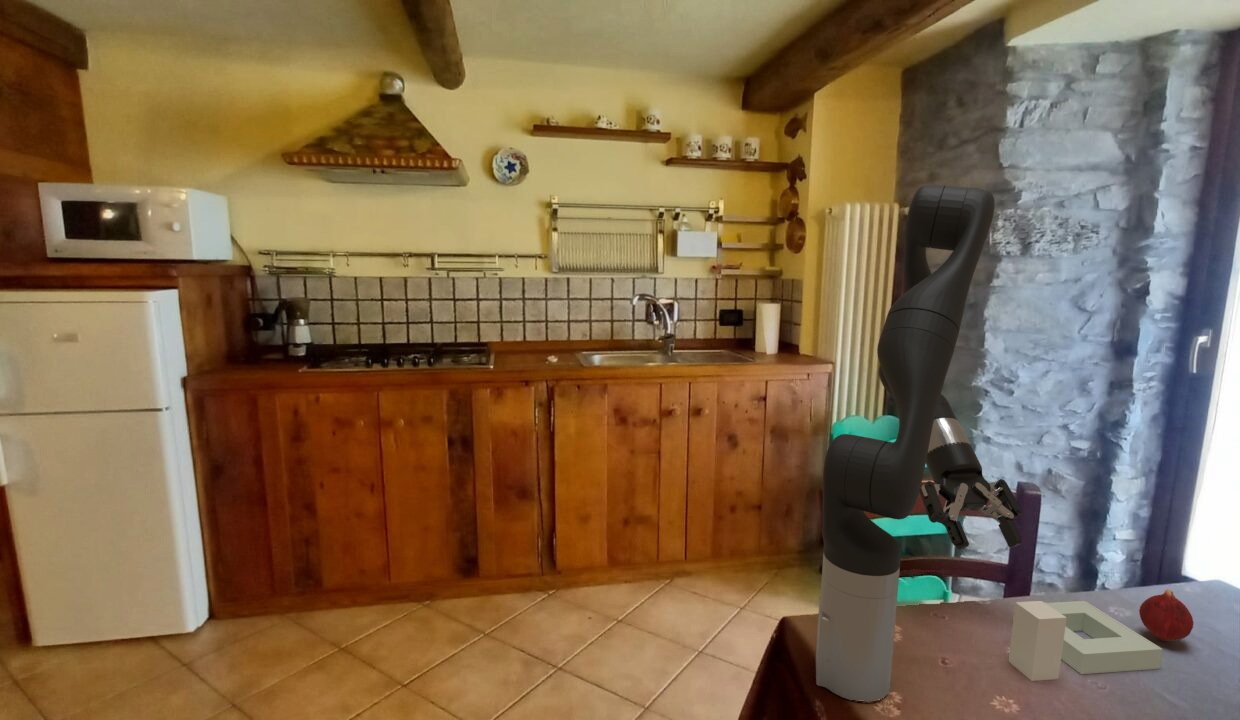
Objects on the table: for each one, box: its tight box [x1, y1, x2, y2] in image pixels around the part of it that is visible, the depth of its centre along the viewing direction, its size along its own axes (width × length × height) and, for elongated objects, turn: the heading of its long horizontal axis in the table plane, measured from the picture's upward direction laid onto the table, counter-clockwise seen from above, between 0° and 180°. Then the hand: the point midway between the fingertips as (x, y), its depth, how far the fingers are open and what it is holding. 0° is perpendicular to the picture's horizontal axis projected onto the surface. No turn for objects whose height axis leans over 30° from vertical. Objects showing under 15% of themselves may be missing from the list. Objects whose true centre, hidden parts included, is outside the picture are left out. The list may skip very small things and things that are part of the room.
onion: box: [1138, 588, 1195, 642], centre depth 86 cm, size 6×6×8 cm
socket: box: [1013, 600, 1164, 675], centre depth 85 cm, size 12×12×3 cm
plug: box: [1008, 600, 1067, 682], centre depth 79 cm, size 4×4×9 cm
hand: (990, 546), depth 87 cm, fingers open, 8 cm apart
